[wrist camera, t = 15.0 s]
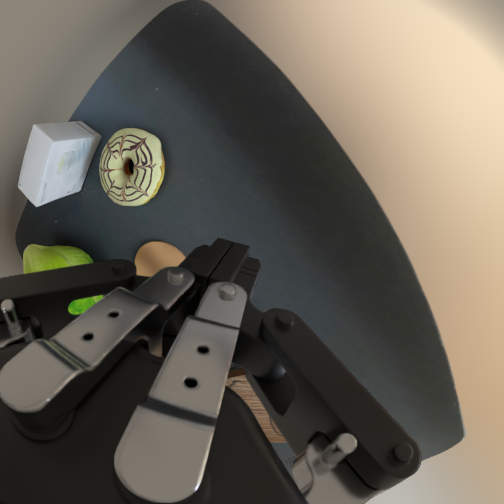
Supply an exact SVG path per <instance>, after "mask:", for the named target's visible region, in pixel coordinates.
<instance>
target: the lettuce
mask: <svg viewBox="0 0 504 504" xmlns="http://www.w3.org/2000/svg"><path fill="white" fill-rule="evenodd" d="M23 262H24V274H26V273H32V272H38V271H44V270H50V269H57V268H63V267H69V266H75V265H81V264H88V263H94V262H93V260H92V259H91V257H90V256H89V255H88V254H87V253H85V252H84V251H82V250H81V249H80V248H76V247H70V246H52V247H48V246H40V245H35V244H31V245H29V246H28V247H27V248H26V249H25V251H24V255H23ZM102 298H103V295H100V296H95V297H90V298H84V299H79V300H75V301H73V302H71V303H70V305H69V307H68V311H69V313H71V314H73V315H77V314H82V313H84V312H85V311H86V310H87V309H89V308H90V307H91V306H93V305H94V304H95V303H97V302H98V301H99V300H101V299H102Z"/></svg>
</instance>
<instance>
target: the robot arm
mask: <svg viewBox="0 0 504 504" xmlns="http://www.w3.org/2000/svg"><path fill="white" fill-rule="evenodd" d="M249 252H250V246H247V245H243V244H239V243H236V242H232V241H228V240H224V239H221V238H218V239H217V240H216V241H215V242H214V243H213V244H212V245H211V246H207V245H202V246H200V247H197V248H195V249H194V250H193V251H192V252H191V253H190V254H189V255H188V257H186V258H185V259H184V260H183V261H182V262H181V263H180V264H179V265H178V266H177V267H176V266H171V267H165V268H162V269H160V270H159V271H158V272H156V273H155V274H154V275H153V276H151V277H149V276H141V275H137V268H136V265H135V264H134V263H132V262H130V261H128V260H124V259H113V260H107V261H100V262H94V263H88V264H81V265H75V266H69V267H63V268H57V269H50V270H44V271H38V272H32V273H26V274H21V275H15V276H9V277H3V278H0V504H365V503H366V502H367V501H368V500H370V499H371V498H373V497H375V496H377V495H378V494H380V493H383V492H384V491H386V490H388V489H390V488H391V487H393V486H395V485H396V484H398V483H400V482H402V481H403V480H405V479H406V478H408V477H410V476H411V475H413V474H414V473H415V472H416V471H417V470H418V468H419V467H420V464H421V461H422V453H421V450H420V447H419V445H418V444H417V442H416V441H415V440H414V439H413V438H412V437H411V436H410V435H409V434H408V433H407V432H406V431H405V430H404V429H403V427H402V426H401V425H400V424H399V423H398V422H397V421H396V420H395V419H394V418H393V417H392V416H391V415H390V414H389V413H388V412H387V411H386V409H385V408H384V407H383V406H382V405H381V404H380V403H379V402H378V401H377V400H376V399H375V398H374V397H373V396H372V395H371V393H370V392H369V391H368V390H367V389H366V388H365V387H364V386H363V385H362V384H361V383H360V382H359V381H358V380H357V378H356V377H355V376H354V375H353V374H352V373H351V372H350V371H349V370H348V369H347V368H346V367H345V366H344V365H343V363H342V362H341V361H340V360H339V359H338V358H337V357H336V356H335V355H334V354H333V353H332V352H331V350H330V349H329V348H328V347H327V346H326V345H325V344H324V343H323V342H322V341H321V340H320V339H319V337H318V336H317V335H316V334H315V333H314V332H313V331H312V330H311V329H310V328H309V327H308V326H307V324H306V323H305V322H304V321H303V320H302V319H301V318H300V317H299V316H298V315H296V314H295V313H293V312H291V311H288V310H285V309H270V310H268V311H266V312H265V313H263V312H261V311H259V310H258V309H257V308H255V307H254V306H253V305H252V303H251V300H252V297H253V294H254V291H255V287H256V283H257V279H258V275H259V271H260V267H261V265H260V263H259V260H258V259H254V258H251V257H248V256H249ZM100 295H103V298H102V299H101V300H99V301H98V302H97V303H95V304H94V305H93V306H91V307H90V308H89V309H87V310H86V311H85V312H84V313H82V314H77V315H73V314H71V313H69V311H68V307H69V305H70V303H71V302H73V301H75V300H79V299H84V298H90V297H95V296H100ZM231 362H232V363H234V364H236V365H237V366H239V367H241V368H242V369H244V370H246V373H245V375H246V379H247V381H248V382H249V384H250V386H251V387H252V389H253V390H254V392H255V394H256V395H257V397H258V398H259V400H260V402H261V403H262V405H263V406H264V408H265V409H266V411H267V413H268V414H269V416H270V417H271V419H272V420H273V422H274V423H275V425H276V426H277V428H278V429H279V431H280V432H281V434H282V435H283V437H284V438H285V440H286V441H287V443H288V444H289V445H290V447H291V448H292V450H293V451H294V453H295V454H296V455H297V457H296V459H295V460H294V462H293V465H292V473H293V476H294V478H295V480H296V482H297V485H296V484H295V482H294V481H293V479H292V477H291V476H290V474H289V473H288V471H287V470H286V468H285V466H284V465H283V463H282V462H281V460H280V458H279V457H278V455H277V453H276V452H275V450H274V448H273V447H272V445H271V443H270V442H269V440H268V438H267V436H266V435H265V433H264V431H263V430H262V428H261V426H260V424H259V423H258V421H257V419H256V417H255V415H254V414H253V412H252V410H251V409H250V407H249V406H248V405H247V403H246V402H245V401H244V400H243V399H242V398H241V397H240V396H239V395H238V394H237V393H236V392H235V391H234V390H232V389H231V388H229V387H228V386H226V382H227V378H228V373H229V369H230V365H231ZM297 486H298V487H297Z"/></svg>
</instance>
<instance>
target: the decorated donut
mask: <svg viewBox="0 0 504 504" xmlns="http://www.w3.org/2000/svg"><path fill="white" fill-rule="evenodd" d="M130 159H132V161H133V163H134V173H133V174H131V173H130V171H129V162H130ZM99 171H100V178H101V183H102V186H103V188H104V190H105V192H106V193H107V195H108V196H109V197H110V198H111V199H112V200H113V201H114V202H115V203H117V204H120V205H123V206H138V205H141V204H145V203H147V202H148V201H149V200H150V199H151V198H152V197H154V196H155V194H156V193H157V191H158V189H159V187H160V185H161V183H162V181H163V177H164V171H165V161H164V157H163V153H162V150H161V142H160V140H159V139H158V138H157V137H156V136H154V135H153V134H150V133H148V132H146V131H144V130H142V129H137V128H125V129H121V130H119V131H117V132H116V133H115V134H114V135H113V136H112V137H111V138H110V140H109V141H108V143H107V144H106V146H105V147H104V149H103V152H102V155H101V159H100V166H99Z"/></svg>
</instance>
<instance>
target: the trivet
mask: <svg viewBox="0 0 504 504" xmlns="http://www.w3.org/2000/svg"><path fill="white" fill-rule="evenodd" d="M245 373H246V370H244V369H242V368H241V369H237V370H233V371H229V373H228V378H227V382H226V386H228V387H229V388H231V389H232V390H234V391H235V392H236V393H237V394H238V395H239V396H240V397H241V398H242V399H243V400H244V401H245V402H246V403H247V405H248V406H249V407H250V409H251V410H252V412H253V414H254V415H255V417H256V419H257V421H258V423H259V424H260V426H261V428H262V430H263V431H264V433H265V435H266V436H267V438H268V440H269V442H287V441H286V440H285V438H284V437H283V435H282V434H281V432H280V431H279V429H278V428H277V426H276V425H275V423H274V422H273V420H272V419H271V417H270V416H269V414H268V413H267V411H266V409H265V408H264V406H263V405H262V403H261V402H260V400H259V398H258V397H257V395H256V394H255V392H254V390H253V389H252V387H251V386H250V384H249V382H248V381H247V379H246V375H245Z"/></svg>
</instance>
